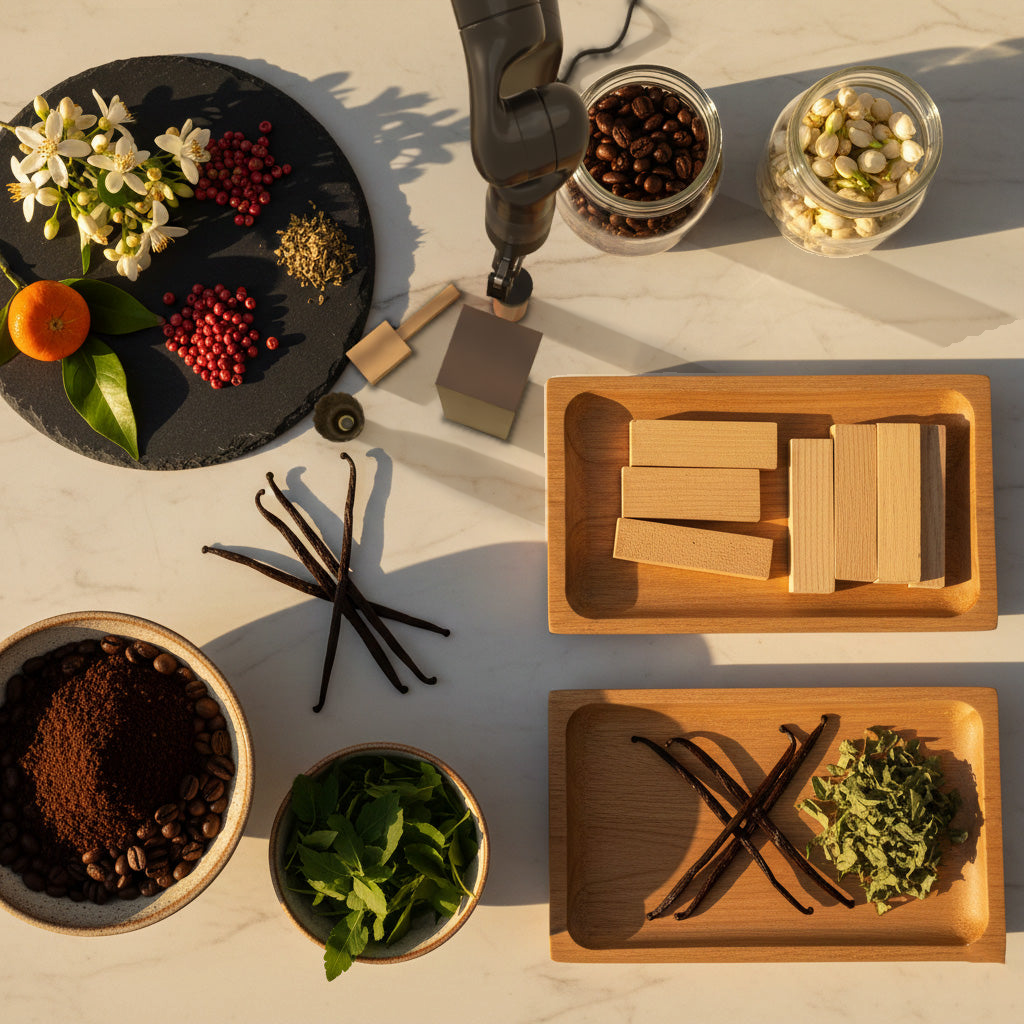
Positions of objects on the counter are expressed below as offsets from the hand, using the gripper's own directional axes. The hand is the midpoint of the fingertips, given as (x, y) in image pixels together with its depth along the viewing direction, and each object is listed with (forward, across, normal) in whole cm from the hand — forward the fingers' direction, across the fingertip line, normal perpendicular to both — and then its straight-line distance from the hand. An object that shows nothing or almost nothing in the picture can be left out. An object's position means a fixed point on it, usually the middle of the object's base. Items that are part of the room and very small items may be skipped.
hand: (513, 258), depth 103 cm
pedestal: (+22, +15, +2) cm, 27 cm away
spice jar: (+22, 0, 0) cm, 22 cm away
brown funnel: (+22, +26, -17) cm, 38 cm away
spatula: (+22, +9, -13) cm, 27 cm away
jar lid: (+11, 0, 0) cm, 11 cm away
